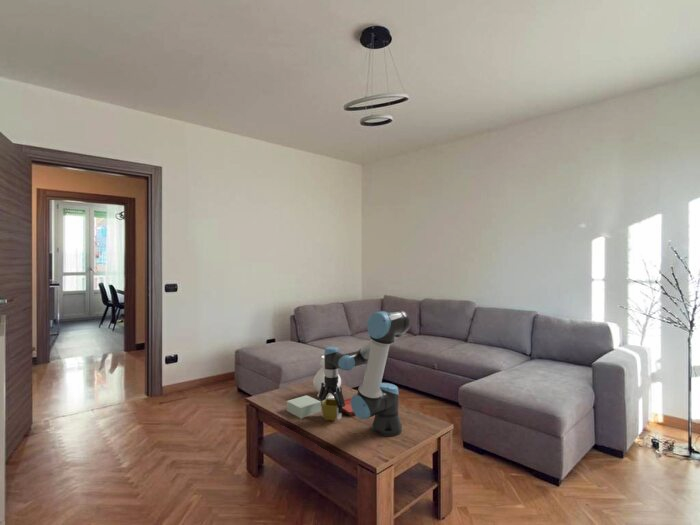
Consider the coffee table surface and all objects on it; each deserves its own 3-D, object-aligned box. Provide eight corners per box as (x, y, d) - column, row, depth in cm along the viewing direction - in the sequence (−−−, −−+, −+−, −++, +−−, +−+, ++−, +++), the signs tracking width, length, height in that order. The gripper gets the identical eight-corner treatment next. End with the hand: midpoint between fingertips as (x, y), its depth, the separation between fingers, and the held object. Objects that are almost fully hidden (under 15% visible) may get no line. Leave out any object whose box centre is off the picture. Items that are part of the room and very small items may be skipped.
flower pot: (337, 422, 203) (337, 406, 203) (321, 421, 205) (321, 404, 205) (340, 416, 211) (340, 400, 211) (325, 414, 213) (325, 398, 213)
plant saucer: (358, 401, 235) (358, 396, 235) (376, 411, 219) (376, 405, 219) (333, 407, 225) (333, 401, 225) (349, 418, 210) (349, 412, 210)
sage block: (321, 412, 218) (321, 401, 218) (300, 418, 209) (300, 408, 209) (306, 405, 228) (306, 395, 228) (286, 411, 219) (286, 400, 219)
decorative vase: (333, 402, 232) (333, 361, 231) (307, 398, 239) (307, 358, 239) (345, 393, 248) (345, 354, 247) (321, 389, 255) (321, 352, 255)
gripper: (351, 379, 202) (351, 419, 202) (322, 369, 219) (322, 407, 219) (341, 382, 197) (341, 424, 197) (311, 372, 214) (311, 411, 214)
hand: (331, 415), depth 208 cm, fingers closed on flower pot, 12 cm apart
